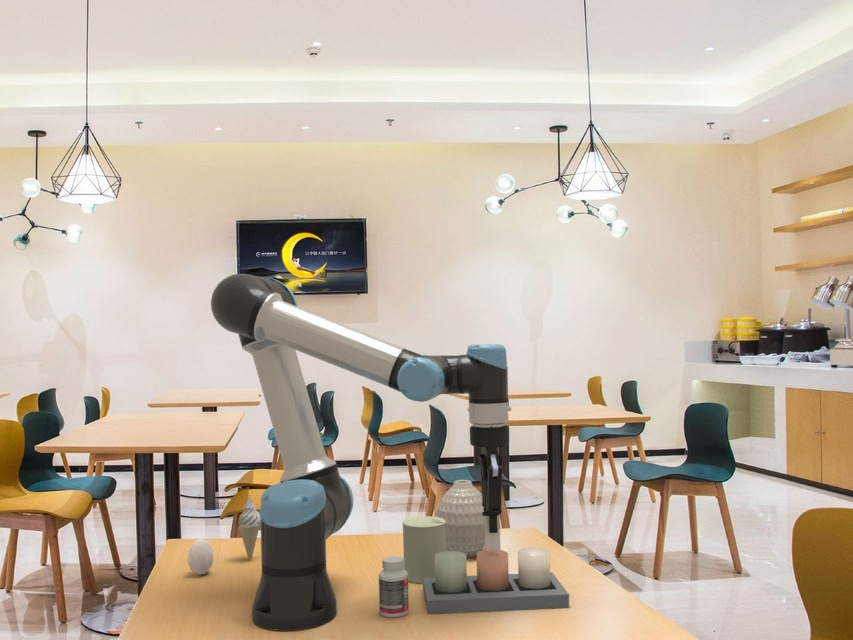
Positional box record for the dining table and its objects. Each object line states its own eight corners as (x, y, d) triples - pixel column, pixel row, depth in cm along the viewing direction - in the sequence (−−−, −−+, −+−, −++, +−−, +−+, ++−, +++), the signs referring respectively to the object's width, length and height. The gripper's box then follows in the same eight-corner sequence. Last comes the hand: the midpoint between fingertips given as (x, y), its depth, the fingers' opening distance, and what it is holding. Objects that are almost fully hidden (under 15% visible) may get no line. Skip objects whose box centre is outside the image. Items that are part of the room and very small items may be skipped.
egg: (194, 580, 158) (193, 543, 158) (183, 574, 162) (183, 538, 162) (218, 574, 162) (217, 538, 162) (207, 569, 166) (206, 534, 166)
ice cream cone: (266, 559, 172) (265, 493, 173) (249, 565, 168) (248, 497, 168) (250, 556, 175) (249, 491, 175) (234, 561, 171) (232, 495, 171)
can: (443, 584, 152) (441, 525, 152) (398, 582, 154) (397, 523, 154) (450, 570, 161) (449, 514, 161) (408, 569, 163) (407, 513, 163)
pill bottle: (411, 616, 135) (410, 561, 135) (382, 619, 134) (380, 564, 134) (405, 606, 140) (404, 553, 140) (377, 609, 139) (376, 556, 139)
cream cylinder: (522, 589, 140) (521, 557, 141) (516, 579, 146) (515, 548, 147) (553, 587, 141) (552, 555, 141) (546, 577, 147) (545, 546, 147)
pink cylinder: (479, 591, 140) (478, 558, 140) (475, 580, 146) (474, 549, 146) (511, 589, 140) (510, 557, 141) (505, 579, 146) (505, 548, 146)
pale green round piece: (436, 593, 139) (436, 560, 140) (434, 582, 145) (433, 551, 146) (468, 591, 140) (468, 559, 140) (465, 581, 146) (464, 550, 146)
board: (427, 614, 136) (427, 600, 136) (423, 590, 149) (422, 578, 149) (569, 607, 138) (568, 594, 138) (552, 584, 150) (552, 572, 151)
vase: (494, 561, 166) (492, 486, 167) (436, 562, 167) (434, 487, 167) (490, 545, 179) (488, 475, 180) (436, 546, 179) (435, 476, 180)
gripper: (514, 427, 138) (518, 557, 137) (502, 420, 151) (506, 538, 150) (474, 429, 137) (477, 559, 137) (465, 421, 150) (468, 540, 150)
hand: (492, 548), depth 143 cm, fingers closed
